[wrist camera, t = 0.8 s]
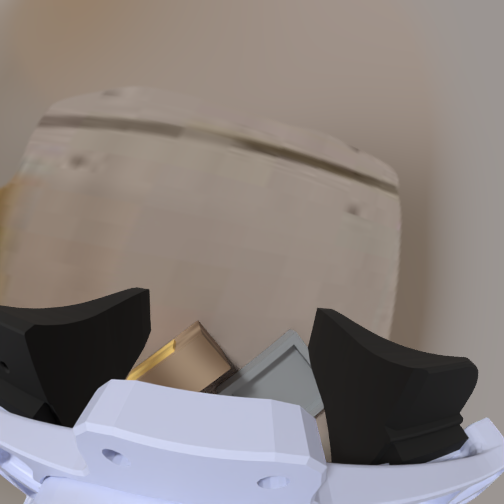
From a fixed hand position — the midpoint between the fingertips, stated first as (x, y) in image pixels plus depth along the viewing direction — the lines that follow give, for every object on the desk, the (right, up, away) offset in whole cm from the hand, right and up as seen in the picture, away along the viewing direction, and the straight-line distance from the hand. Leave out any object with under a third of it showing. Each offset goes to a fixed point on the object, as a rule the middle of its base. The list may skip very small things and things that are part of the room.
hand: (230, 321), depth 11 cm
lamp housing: (-8, -10, +16) cm, 21 cm away
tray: (+4, -14, +19) cm, 24 cm away
